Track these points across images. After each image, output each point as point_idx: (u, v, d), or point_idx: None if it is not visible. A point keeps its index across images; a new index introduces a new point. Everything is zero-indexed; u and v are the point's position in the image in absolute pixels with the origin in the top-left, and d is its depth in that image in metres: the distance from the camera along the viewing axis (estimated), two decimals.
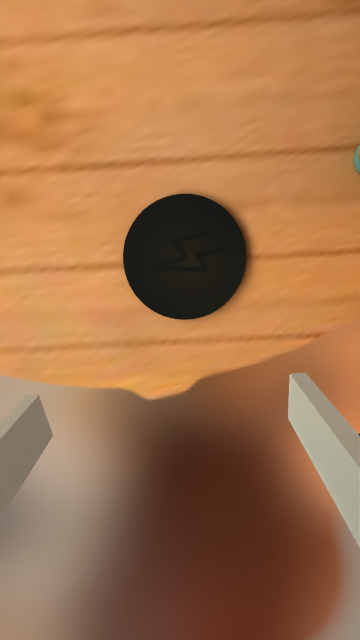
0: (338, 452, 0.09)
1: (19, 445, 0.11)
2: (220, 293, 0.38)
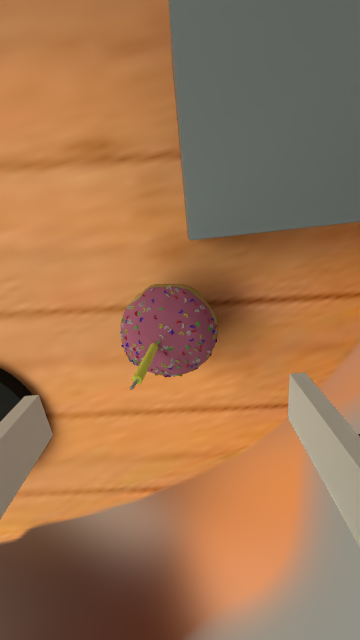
0: (338, 452, 0.09)
1: (19, 445, 0.11)
2: None
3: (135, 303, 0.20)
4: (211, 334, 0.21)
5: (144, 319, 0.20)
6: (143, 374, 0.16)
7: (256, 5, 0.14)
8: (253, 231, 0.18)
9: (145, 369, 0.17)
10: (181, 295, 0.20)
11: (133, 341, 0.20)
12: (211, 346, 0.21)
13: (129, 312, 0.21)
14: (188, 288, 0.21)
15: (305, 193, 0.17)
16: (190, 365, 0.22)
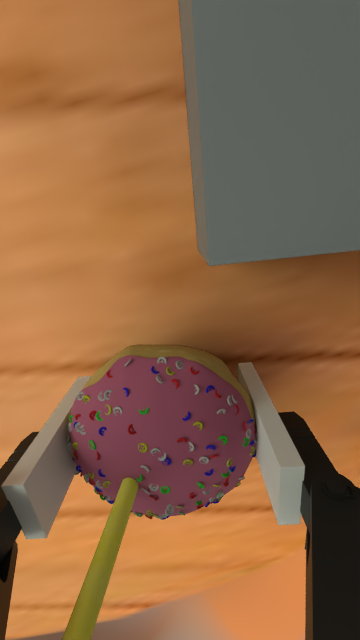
0: (259, 426, 0.10)
1: None
2: None
3: (92, 391, 0.10)
4: (248, 449, 0.10)
5: (109, 431, 0.09)
6: None
7: None
8: None
9: (94, 612, 0.06)
10: (187, 377, 0.10)
11: (88, 467, 0.10)
12: (246, 467, 0.11)
13: (80, 407, 0.10)
14: (202, 358, 0.10)
15: None
16: (204, 503, 0.11)
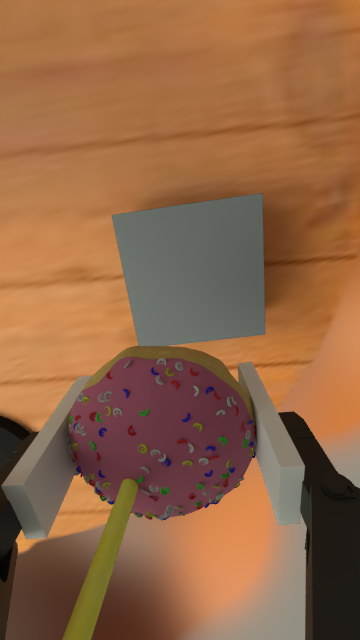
0: (259, 426, 0.10)
1: None
2: None
3: (92, 392, 0.10)
4: (247, 450, 0.10)
5: (109, 432, 0.09)
6: None
7: (167, 222, 0.22)
8: (181, 342, 0.26)
9: (94, 613, 0.06)
10: (187, 379, 0.10)
11: (87, 468, 0.10)
12: (245, 468, 0.11)
13: (80, 408, 0.10)
14: (201, 360, 0.10)
15: (213, 320, 0.25)
16: (204, 504, 0.11)
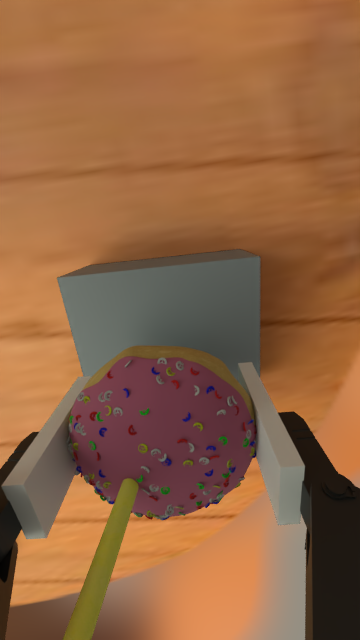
0: (259, 426, 0.10)
1: None
2: None
3: (93, 391, 0.10)
4: (248, 450, 0.10)
5: (110, 432, 0.09)
6: None
7: (132, 288, 0.16)
8: None
9: (94, 613, 0.06)
10: (188, 378, 0.10)
11: (88, 468, 0.10)
12: (246, 468, 0.11)
13: (81, 408, 0.10)
14: (202, 359, 0.10)
15: None
16: (204, 504, 0.11)
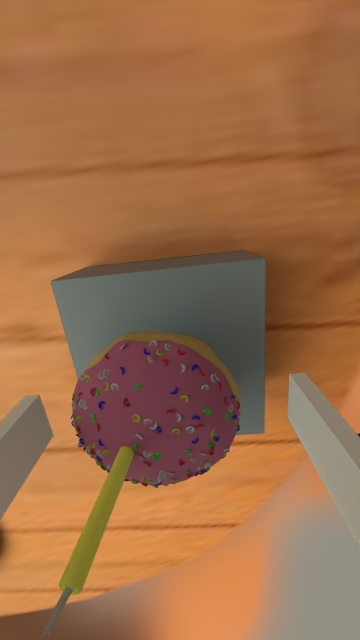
0: (337, 452, 0.09)
1: (20, 445, 0.11)
2: None
3: (93, 371, 0.11)
4: (231, 422, 0.12)
5: (107, 405, 0.11)
6: (86, 566, 0.07)
7: (129, 292, 0.16)
8: None
9: (94, 544, 0.08)
10: (175, 358, 0.11)
11: (89, 439, 0.11)
12: (230, 440, 0.12)
13: (83, 386, 0.11)
14: (188, 342, 0.11)
15: None
16: (194, 473, 0.12)
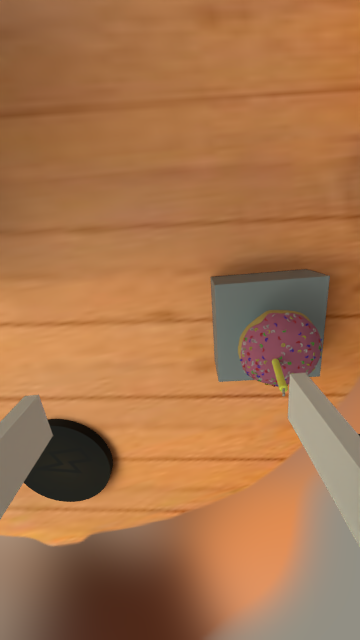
0: (338, 452, 0.09)
1: (19, 445, 0.11)
2: (93, 486, 0.47)
3: (259, 326, 0.25)
4: (319, 352, 0.25)
5: (269, 339, 0.24)
6: (286, 384, 0.21)
7: (255, 291, 0.30)
8: (253, 379, 0.33)
9: (285, 380, 0.22)
10: (297, 320, 0.25)
11: (256, 357, 0.25)
12: (317, 361, 0.26)
13: (252, 333, 0.25)
14: (301, 314, 0.25)
15: None
16: None
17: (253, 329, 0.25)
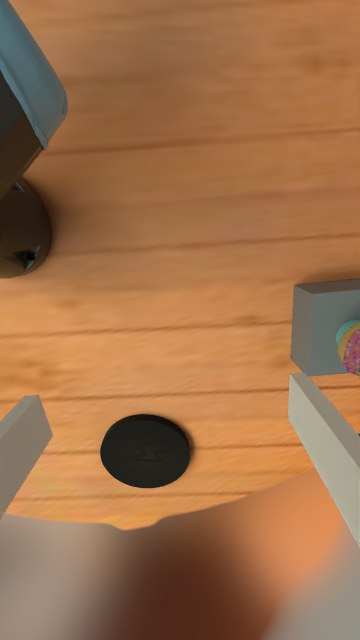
0: (338, 452, 0.09)
1: (19, 445, 0.11)
2: (172, 473, 0.52)
3: None
4: None
5: None
6: None
7: (346, 299, 0.34)
8: (336, 373, 0.38)
9: None
10: None
11: None
12: None
13: (358, 335, 0.30)
14: None
15: None
16: None
17: (359, 332, 0.30)
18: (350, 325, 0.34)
